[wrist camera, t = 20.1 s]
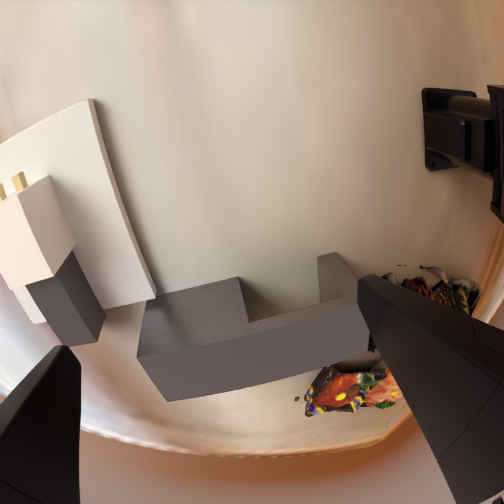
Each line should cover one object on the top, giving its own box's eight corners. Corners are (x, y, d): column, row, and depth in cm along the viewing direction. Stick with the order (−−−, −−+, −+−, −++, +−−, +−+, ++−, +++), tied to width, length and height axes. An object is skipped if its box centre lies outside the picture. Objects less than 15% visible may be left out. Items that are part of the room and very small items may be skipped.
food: (379, 242, 23) (403, 265, 20) (479, 276, 28) (497, 292, 25) (281, 406, 32) (288, 430, 29) (391, 397, 37) (401, 414, 34)
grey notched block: (335, 252, 22) (372, 299, 17) (337, 302, 24) (367, 352, 19) (147, 298, 21) (136, 357, 16) (169, 343, 24) (167, 401, 19)
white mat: (92, 98, 14) (87, 98, 13) (156, 290, 21) (155, 298, 20) (-31, 167, 14) (-39, 171, 13) (37, 316, 21) (33, 324, 20)
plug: (44, 160, 14) (10, 177, 11) (111, 313, 20) (100, 351, 17) (3, 182, 14) (-31, 202, 11) (71, 321, 20) (56, 357, 17)
